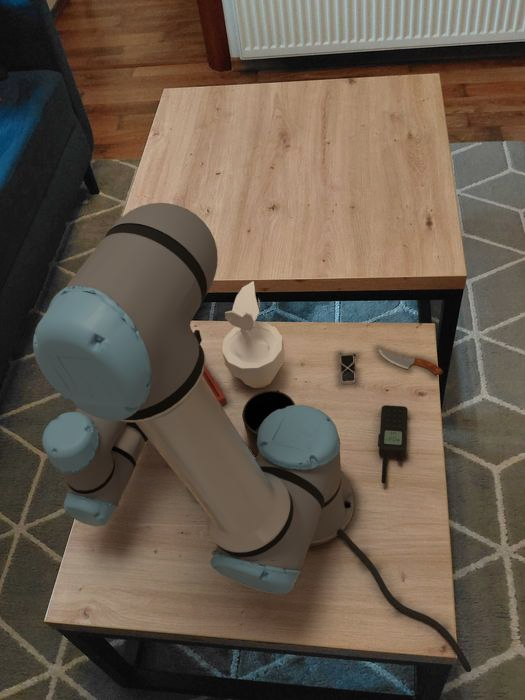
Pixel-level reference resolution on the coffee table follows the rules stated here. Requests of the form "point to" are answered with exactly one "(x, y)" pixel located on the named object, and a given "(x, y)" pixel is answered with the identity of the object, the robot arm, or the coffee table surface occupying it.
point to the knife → (410, 362)
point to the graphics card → (348, 368)
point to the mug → (262, 412)
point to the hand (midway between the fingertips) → (177, 331)
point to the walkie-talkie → (392, 435)
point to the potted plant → (251, 342)
